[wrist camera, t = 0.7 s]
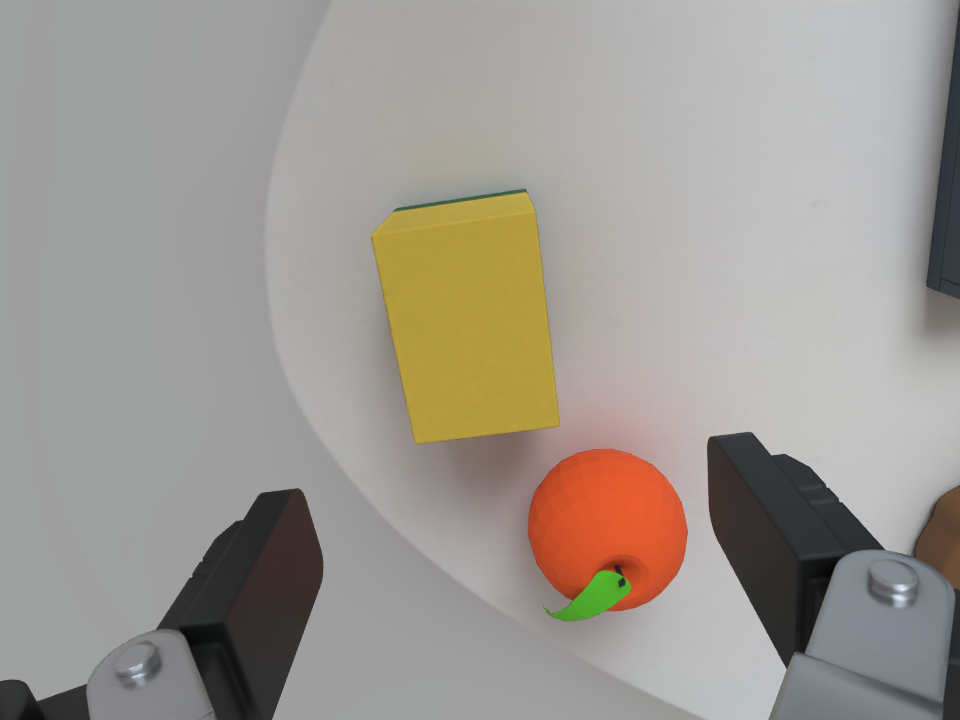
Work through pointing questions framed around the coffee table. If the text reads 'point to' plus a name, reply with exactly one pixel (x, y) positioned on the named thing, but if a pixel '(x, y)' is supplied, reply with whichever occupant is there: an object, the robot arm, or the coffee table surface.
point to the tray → (948, 198)
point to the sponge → (469, 316)
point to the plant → (943, 538)
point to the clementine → (606, 532)
